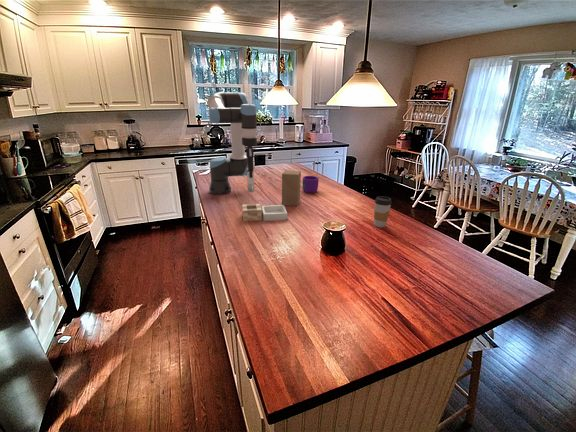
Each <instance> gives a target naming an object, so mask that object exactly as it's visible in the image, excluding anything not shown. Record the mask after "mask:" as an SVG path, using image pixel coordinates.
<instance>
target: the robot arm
mask: <svg viewBox="0 0 576 432" xmlns="http://www.w3.org/2000/svg"><path fill="white" fill-rule="evenodd" d="M248 102H249V101H248V98H247V94H246V93H244V92H239V91H236V92H235V91H234V92H233V91H231V92H230V91H229V92H228V91H219V92H215V93H213V94H211V95H210V96H209V97H208V99H207V106H208V107H207V108H208V117H209V118H208V119H209V123H211V124H230V136H231V139H230V141H231V155H230V156H229V158H227V157H225V156H220V157H215V158H212V159H210V161H209V171H210V183H209V184H210V185H209V193H210V194H211V195H227V194H230V193H232V186H231V184H230V181H229V177H244V176H247V172H248V180H247V185H248V184H252V183H254V184H255V176H254V177H253V170H254V169H255V168H254V169H253V166H254V155H255V154H254V153H255V149H254V146H257V145H258V138H257V137H258V130H257V129H258V128H257V106H256V105H255V104H254V103H253V104H251V103H250V104H249V103H248ZM245 147H246V148H245ZM247 165H248V170H247ZM254 171H255V170H254Z"/></svg>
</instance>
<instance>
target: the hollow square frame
mask: <svg viewBox="0 0 576 432" xmlns="http://www.w3.org/2000/svg"><path fill="white" fill-rule="evenodd" d="M241 206H242V207H241V208H242V221H243V222H249V221H250V222H251V221H252V220H254V221H255V222H256V221H262V220H263V216H262V205H261V203H243V204H242V205H241ZM252 222H253V221H252Z"/></svg>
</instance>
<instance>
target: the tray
mask: <svg viewBox="0 0 576 432" xmlns="http://www.w3.org/2000/svg"><path fill="white" fill-rule="evenodd" d="M261 210H262V220H263V222H269V221H270V222H273V221H275V222H276V221H287V220H288V211H287V209H286V206H285V205H282V204H278V205H277V204H276V205H275V204H273V205H261Z"/></svg>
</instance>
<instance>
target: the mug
mask: <svg viewBox="0 0 576 432" xmlns="http://www.w3.org/2000/svg"><path fill="white" fill-rule="evenodd" d="M302 190H303V192H304V193H307V194H313V193H316V192H317V191H318V190H319V177H318V176H314V175H305V176H303V177H302Z"/></svg>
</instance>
